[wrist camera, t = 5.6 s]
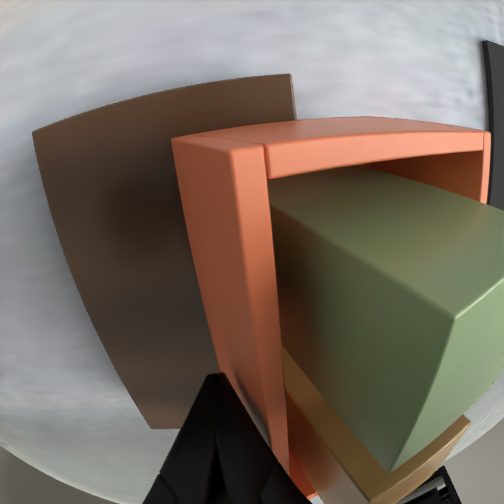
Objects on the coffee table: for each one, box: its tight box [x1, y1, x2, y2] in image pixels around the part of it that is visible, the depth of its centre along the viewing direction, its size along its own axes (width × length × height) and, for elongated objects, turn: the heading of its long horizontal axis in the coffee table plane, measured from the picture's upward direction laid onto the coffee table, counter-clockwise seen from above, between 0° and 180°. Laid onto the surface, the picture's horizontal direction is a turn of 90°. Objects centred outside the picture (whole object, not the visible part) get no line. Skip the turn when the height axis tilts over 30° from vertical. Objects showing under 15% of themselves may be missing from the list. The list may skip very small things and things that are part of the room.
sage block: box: [267, 165, 504, 473], centre depth 7 cm, size 4×4×7 cm
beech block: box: [282, 346, 471, 504], centre depth 10 cm, size 4×4×7 cm
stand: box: [32, 74, 297, 429], centre depth 13 cm, size 16×9×3 cm, turn 7°
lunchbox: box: [171, 116, 491, 499], centre depth 10 cm, size 13×7×5 cm, turn 6°
